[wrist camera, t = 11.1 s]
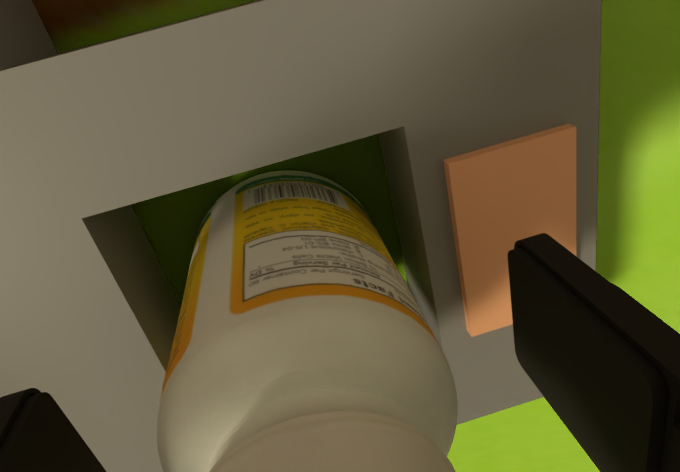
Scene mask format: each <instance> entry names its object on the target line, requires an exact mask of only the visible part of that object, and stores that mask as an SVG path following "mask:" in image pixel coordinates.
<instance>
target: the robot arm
mask: <svg viewBox="0 0 680 472" xmlns="http://www.w3.org/2000/svg"><path fill="white" fill-rule="evenodd" d="M508 270H509V282H510V295H511V307H512V320H513V332H514V345H515V353H516V356H517V359H518V361H519V363H520V365H521V367H522V368H523V370H524V371H525V372H526V374H527V375H528V376H529V378H530V379H531V380H532V382H533V383H534V384H535V385H536V387H537V388H538V389H539V391H540V392H541V393H542V395H543V396H544V397H545V399H546V400H547V401H548V403H549V404H550V405H551V407H552V408H553V409H554V411H555V412H556V413H557V415H558V416H559V417H560V419H561V420H562V421H563V423H564V424H565V425H566V427H567V428H568V429H569V431H570V432H571V433H572V435H573V436H574V437H575V439H576V440H577V441H578V443H579V444H580V445H581V447H582V448H583V449H584V451H585V452H586V453H587V455H588V456H589V457H590V459H591V460H592V461H593V463H594V464H595V465H596V467H597V468H598V469H599V471H600V472H680V334H679V333H678V332H676V331H675V330H674V329H672V328H671V327H670V326H669V325H667V324H666V323H665V322H663V321H662V320H661V319H660V318H658V317H657V316H656V315H654V314H653V313H652V312H650V311H649V310H648V309H647V308H645V307H644V306H643V305H641V304H640V303H639V302H637V301H636V300H635V299H634V298H632V297H631V296H630V295H628V294H627V293H626V292H624V291H623V290H622V289H621V288H619V287H617V286H616V285H614V284H612V283H610V282H609V281H607V280H606V279H605V278H604V277H602V276H601V275H600V274H598V273H597V272H596V271H594V270H593V269H592V268H591V267H589V266H588V265H587V264H585V263H584V262H583V261H582V260H580V259H579V258H578V257H576V256H575V255H574V254H573V253H571V252H570V251H569V250H567V249H566V248H565V247H564V246H562V245H561V244H560V243H558V242H557V241H556V240H555V239H553V238H552V237H551V236H549V235H548V234H546V233H541V234H538V235H534V236H531V237H528V238H524V239H521V240H518V241H516V242H515V245H514V249H513V250H510V251H509V252H508ZM0 472H106V470H105V469H104V468H103V466H102V465H101V463H100V462H99V461H98V459H97V458H96V457H95V455H94V454H93V452H92V451H91V450H90V448H89V447H88V446H87V444H86V443H85V441H84V440H83V439H82V437H81V436H80V434H79V433H78V432H77V430H76V429H75V428H74V426H73V425H72V423H71V422H70V421H69V419H68V418H67V417H66V415H65V414H64V412H63V411H62V410H61V408H60V407H59V405H58V404H57V403H56V401H55V400H54V399H53V397H52V396H51V395H50V394H49V393H47V392H41V391H40V390H38V389H36V388H29V389H26V390H22V391H19V392H16V393H12V394H9V395H6V396H3V397H1V398H0Z"/></svg>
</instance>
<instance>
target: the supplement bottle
mask: <svg viewBox="0 0 680 472" xmlns="http://www.w3.org/2000/svg"><path fill="white" fill-rule="evenodd" d="M457 414H458V400H457V391H456V386H455V382H454V378H453V375H452V372H451V369H450V366H449V364H448V361H447V359H446V357H445V355H444V353H443V351H442V349H441V347H440V345H439V343H438V341H437V339H436V338H435V336H434V334H433V332H432V331H431V329H430V327H429V325H428V323H427V321H426V319H425V317H424V315H423V313H422V312H421V310H420V308H419V306H418V304H417V302H416V301H415V299H414V297H413V295H412V293H411V292H410V290H409V288H408V286H407V284H406V283H405V281H404V279H403V277H402V276H401V274H400V272H399V270H398V269H397V267H396V265H395V263H394V261H393V260H392V258H391V256H390V254H389V252H388V250H387V248H386V247H385V245H384V243H383V241H382V239H381V237H380V235H379V233H378V231H377V230H376V228H375V225H374V224H373V222H372V220H371V219H370V217H369V215H368V214H367V212H366V211H365V209H364V207H363V206H362V205H361V203H360V202H359V201H358V200H357V199H356V198H355V197H354V196H353V195H352V194H351V193H350V192H349V191H347V190H346V189H345V188H344V187H342V186H340V185H339V184H337V183H335V182H334V181H332V180H329V179H327V178H325V177H323V176H320V175H316V174H313V173H309V172H304V171H291V170H284V171H273V172H267V173H263V174H259V175H256V176H254V177H251V178H249V179H247V180H244V181H242V182H241V183H239V184H237V185H235V186H234V187H232V188H231V189H229V190H228V191H227V192H225V193H224V194H223V195H222V196H221V197H220V198H219V199H218V200H217V201H216V202H215V203H214V204H213V206H212V207H211V208H210V209H209V211H208V212H207V214H206V215H205V217H204V219H203V221H202V223H201V225H200V228H199V230H198V233H197V237H196V241H195V244H194V249H193V253H192V259H191V262H190V267H189V272H188V277H187V282H186V287H185V291H184V296H183V301H182V305H181V309H180V314H179V318H178V323H177V328H176V332H175V336H174V340H173V344H172V349H171V354H170V358H169V363H168V367H167V370H166V373H165V379H164V382H163V388H162V394H161V400H160V405H159V411H158V419H157V448H158V453H159V458H160V463H161V466H162V469H163V471H164V472H455V470H454V468H453V466H452V464H451V462H450V461H449V459H448V458H447V455H448V452H449V450H450V447H451V444H452V442H453V438H454V434H455V429H456V424H457Z"/></svg>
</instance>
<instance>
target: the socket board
mask: <svg viewBox="0 0 680 472" xmlns="http://www.w3.org/2000/svg"><path fill="white" fill-rule="evenodd" d="M601 4H602V0H257V1H253V2H250V3H246V4H242V5H238V6H235V7H231V8H227V9H223V10H220V11H216V12H212V13H209V14H205V15H201V16H197V17H194V18H190V19H186V20H182V21H179V22H175V23H171V24H168V25H164V26H160V27H156V28H153V29H149V30H145V31H141V32H138V33H134V34H130V35H126V36H123V37H119V38H115V39H112V40H108V41H104V42H100V43H97V44H93V45H89V46H85V47H82V48H78V49H74V50H71V51H67V52H63V53H59V54H58V53H57V51H56V49H55V47H54V45H53V42H52V40H51V38H50V36H49V34H48V32H47V30H46V28H45V26H44V24H43V22H42V20H41V18H40V16H39V14H38V12H37V10H36V8H35V5H34V3H33V1H32V0H0V398H1V397H3V396H6V395H9V394H12V393H16V392H19V391H22V390H26V389H29V388H36V389H38V390H40V391H41V392H47V393H49V394H50V395H51V396H52V397H53V399H54V400H55V401H56V403H57V404H58V405H59V407H60V408H61V410H62V411H63V412H64V414H65V415H66V417H67V418H68V419H69V421H70V422H71V423H72V425H73V426H74V428H75V429H76V430H77V432H78V433H79V434H80V436H81V437H82V439H83V440H84V441H85V443H86V444H87V446H88V447H89V448H90V450H91V451H92V452H93V454H94V455H95V457H96V458H97V459H98V461H99V462H100V463H101V465H102V466H103V468H104V469H105V470H106V472H164V471H163V469H162V466H161V463H160V458H159V453H158V448H157V419H158V411H159V405H160V400H161V394H162V388H163V382H164V379H165V373H166V370H167V367H168V363H169V358H170V354H171V349H172V344H173V340H174V336H175V332H176V328H177V323H178V318H179V314H180V309H181V306H180V304H179V302H178V300H177V298H176V296H175V293H174V291H173V289H172V287H171V285H170V283H169V281H168V279H167V277H166V275H165V273H164V271H163V269H162V267H161V265H160V263H159V261H158V258H157V256H156V254H155V252H154V250H153V248H152V246H151V244H150V242H149V240H148V238H147V236H146V234H145V232H144V230H143V228H142V226H141V224H140V221H139V219H138V217H137V215H136V213H135V211H134V209H133V207H132V205H131V204H134V203H137V202H141V201H144V200H148V199H151V198H155V197H158V196H162V195H165V194H169V193H172V192H176V191H179V190H183V189H186V188H190V187H193V186H197V185H200V184H204V183H207V182H211V181H214V180H218V179H221V178H225V177H228V176H232V175H235V174H239V173H242V172H246V171H249V170H253V169H256V168H260V167H263V166H267V165H270V164H274V163H277V162H281V161H284V160H288V159H291V158H295V157H298V156H302V155H305V154H309V153H312V152H316V151H319V150H323V149H326V148H330V147H333V146H337V145H340V144H344V143H347V142H351V141H354V140H358V139H361V138H365V137H368V136H372V135H375V134H378V136H379V141H380V146H381V151H382V155H383V160H384V165H385V170H386V175H387V180H388V185H389V190H390V195H391V200H392V205H393V210H394V215H395V220H396V225H397V230H398V235H399V240H400V245H401V250H402V255H403V260H404V265H405V270H406V275H407V280H408V285H409V290H410V292H411V293H412V295H413V297H414V299H415V301H416V302H417V304H418V306H419V308H420V310H421V312H422V313H423V315H424V317H425V319H426V321H427V323H428V325H429V327H430V329H431V331H432V332H433V334H434V336H435V338H436V339H437V341H438V343H439V345H440V347H441V349H442V351H443V353H444V355H445V357H446V359H447V361H448V364H449V366H450V369H451V372H452V375H453V378H454V382H455V386H456V391H457V400H458V414H457V424H460V423H464V422H467V421H470V420H473V419H476V418H479V417H482V416H485V415H488V414H492V413H495V412H498V411H501V410H504V409H507V408H510V407H513V406H516V405H520V404H523V403H526V402H529V401H532V400H535V399H538V398H541V397H544V396H543V395H542V393H541V392H540V391H539V389H538V388H537V387H536V385H535V384H534V383H533V382H532V380H531V379H530V378H529V376H528V375H527V374H526V372H525V371H524V370H523V368H522V367H521V365H520V363H519V361H518V359H517V356H516V353H515V345H514V332H513V320H512V307H511V295H510V282H509V270H508V252H509V251H510V250H513V249H514V245H515V242H516V241H518V240H521V239H524V238H528V237H531V236H534V235H538V234H541V233H546V234H548V235H549V236H551V237H552V238H553V239H555V240H556V241H557V242H558V243H560V244H561V245H562V246H564V247H565V248H566V249H567V250H569V251H570V252H571V253H573V254H574V255H575V256H576V257H578V258H579V259H580V260H582V261H583V262H584V263H585V264H587V265H588V266H589V267H591V268H592V269H593V270H594V271H596V227H597V182H598V138H599V93H600V48H601ZM457 424H456V425H457Z"/></svg>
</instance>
